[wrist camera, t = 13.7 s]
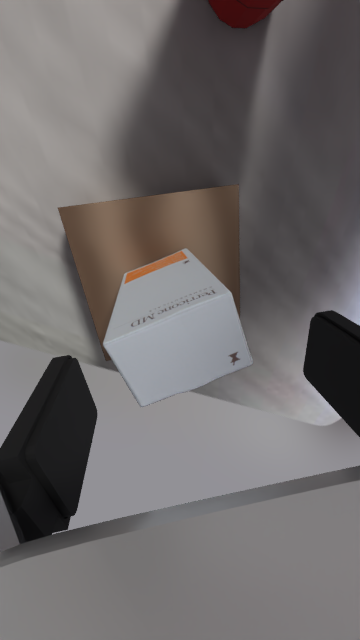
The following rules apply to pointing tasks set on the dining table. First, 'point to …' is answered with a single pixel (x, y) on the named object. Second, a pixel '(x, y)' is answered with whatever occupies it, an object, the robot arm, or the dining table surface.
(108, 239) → the walnut base
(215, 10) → the plastic cup
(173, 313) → the skincare box
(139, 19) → the dining table surface
